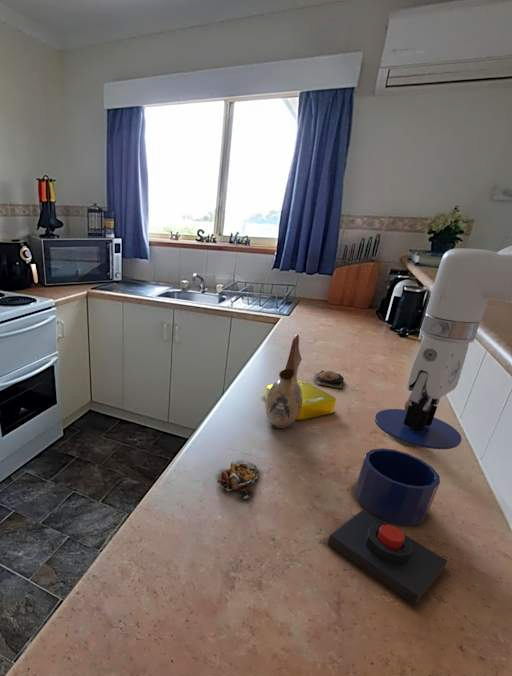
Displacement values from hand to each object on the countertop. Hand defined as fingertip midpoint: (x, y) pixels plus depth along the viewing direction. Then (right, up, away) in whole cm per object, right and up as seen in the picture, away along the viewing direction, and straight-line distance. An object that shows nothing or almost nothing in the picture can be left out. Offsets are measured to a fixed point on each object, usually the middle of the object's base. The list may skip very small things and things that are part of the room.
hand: (417, 424), depth 72 cm
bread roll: (+11, +6, +63) cm, 64 cm away
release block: (-9, -21, -6) cm, 24 cm away
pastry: (-30, -13, +12) cm, 35 cm away
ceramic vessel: (-15, -4, +34) cm, 38 cm away
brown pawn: (+17, -8, +30) cm, 35 cm away
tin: (-1, -16, +7) cm, 18 cm away
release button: (-9, -18, -7) cm, 22 cm away
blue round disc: (0, -1, 0) cm, 1 cm away
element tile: (-6, 0, +45) cm, 46 cm away
